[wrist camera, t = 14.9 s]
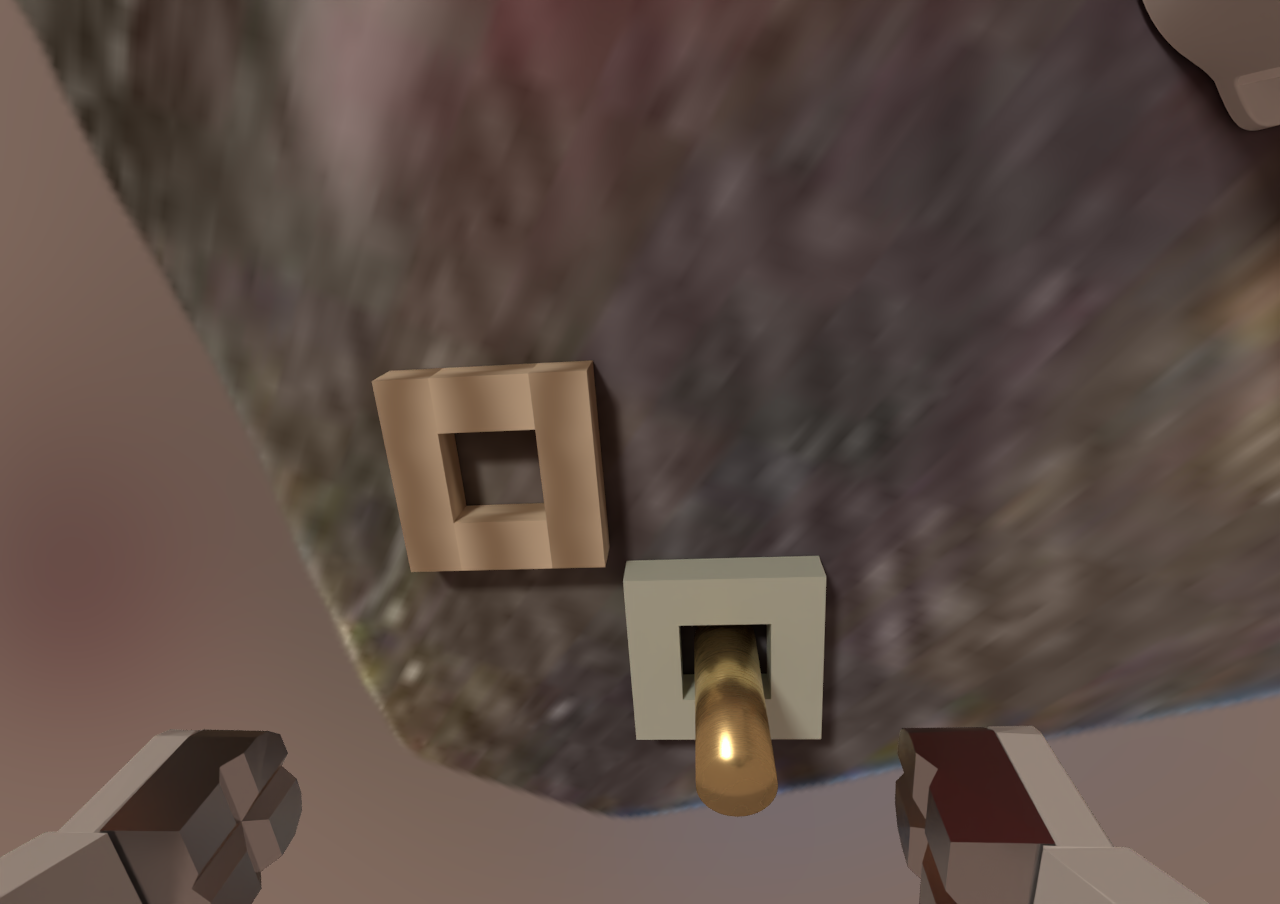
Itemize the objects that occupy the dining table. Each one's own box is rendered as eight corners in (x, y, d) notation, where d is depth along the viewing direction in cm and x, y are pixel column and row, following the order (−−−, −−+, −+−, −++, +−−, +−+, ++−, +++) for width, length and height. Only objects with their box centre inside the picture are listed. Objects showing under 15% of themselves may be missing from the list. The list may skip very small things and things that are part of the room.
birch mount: (592, 360, 39) (586, 370, 36) (609, 547, 43) (605, 567, 40) (390, 370, 40) (371, 381, 37) (425, 552, 44) (411, 571, 41)
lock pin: (754, 612, 44) (778, 754, 32) (755, 663, 45) (777, 816, 34) (692, 613, 44) (694, 754, 33) (695, 664, 45) (697, 816, 34)
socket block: (818, 555, 42) (826, 576, 40) (814, 711, 46) (821, 738, 44) (626, 560, 43) (623, 581, 41) (639, 713, 47) (636, 739, 45)
